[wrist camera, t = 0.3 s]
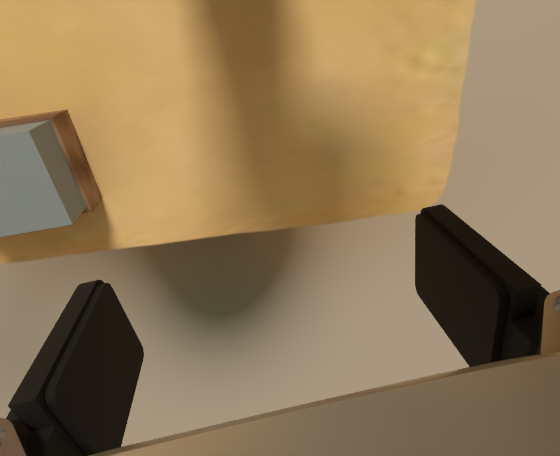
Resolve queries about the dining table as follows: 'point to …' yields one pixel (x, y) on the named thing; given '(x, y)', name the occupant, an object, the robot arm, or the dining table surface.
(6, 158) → the slate top block
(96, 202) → the walnut base block
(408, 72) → the dining table surface
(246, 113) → the dining table surface
